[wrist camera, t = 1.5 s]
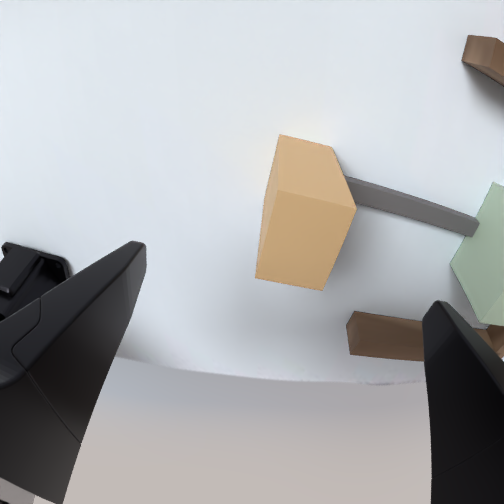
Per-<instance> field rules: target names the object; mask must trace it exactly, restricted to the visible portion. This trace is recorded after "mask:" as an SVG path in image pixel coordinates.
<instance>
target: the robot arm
mask: <svg viewBox="0 0 504 504" xmlns="http://www.w3.org/2000/svg"><path fill="white" fill-rule="evenodd" d="M1 248H2V251H3V255H4V258H3V259H2V261H1V262H0V504H33V501H34V498H35V495H37V496H39V497H41V498H43V499H46V500H48V501H51V502H53V503H55V504H63V501H64V497H65V494H66V491H67V487H68V484H69V480H70V477H71V474H72V471H73V468H74V465H75V462H76V458H77V455H78V452H79V449H80V446H81V444H80V443H82V440H83V437H84V434H85V432H86V429H87V426H88V423H89V421H90V418H91V415H92V412H93V409H94V407H95V404H96V401H97V399H98V396H99V394H100V391H101V389H102V386H103V384H104V381H105V379H106V376H107V374H108V371H109V369H110V366H111V364H112V361H113V359H114V357H115V354H116V352H117V349H118V347H119V345H120V342H121V340H122V338H123V335H124V333H125V331H126V328H127V326H128V324H129V321H130V319H131V316H132V313H133V310H134V307H135V304H136V301H137V297H138V294H139V291H140V288H141V285H142V282H143V279H144V276H145V273H146V267H147V263H146V245H145V244H144V243H141V242H137V241H130V242H128V243H127V244H125V245H123V246H122V247H120V248H118V249H116V250H115V251H113V252H111V253H110V254H108V255H106V256H105V257H103V258H101V259H100V260H98V261H96V262H95V263H93V264H91V265H90V266H88V267H86V268H85V269H83V270H82V271H80V272H78V273H77V274H75V275H74V276H72V277H70V278H69V274H68V269H67V265H66V262H65V260H64V259H62V258H61V257H58V256H54V255H51V254H47V253H43V252H40V251H36V250H32V249H29V248H25V247H22V246H18V245H15V244H11V243H8V242H5V243H4V244H3V245H2V247H1ZM422 333H423V350H424V367H425V376H426V384H427V394H428V404H429V417H430V433H431V462H432V480H431V504H504V362H503V360H502V359H501V358H500V357H499V356H498V355H497V354H496V353H495V352H494V350H493V349H492V348H491V347H490V346H489V345H488V344H487V343H486V342H485V341H484V340H483V339H482V337H481V336H480V335H479V334H478V333H477V332H476V331H475V330H474V329H473V328H472V327H471V326H470V325H469V324H468V323H467V322H466V321H465V320H464V319H463V318H462V317H461V316H460V315H459V314H458V313H457V312H456V311H455V310H454V309H453V308H452V307H451V306H450V305H449V304H448V303H447V302H445V301H439V300H438V301H435V302H434V303H433V304H432V306H431V307H430V309H429V310H428V312H427V313H426V314H425V316H424V317H423V320H422Z"/></svg>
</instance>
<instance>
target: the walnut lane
mask: <svg viewBox="0 0 504 504" xmlns="http://www.w3.org/2000/svg"><path fill="white" fill-rule="evenodd" d="M462 61H463V62H465V63H466V64H468V65H470V66H472V67H473V68H475V69H477V70H479V71H480V72H482V73H483V74H485V75H487V76H488V77H490V78H491V79H493V80H495V81H496V82H498V83H499V84H501V85H502V86H504V43H503V42H502V41H500V40H499V39H497V38H492V37H484V36H474V35H468V38H467V42H466V46H465V49H464V53H463V57H462ZM346 328H347V335H348V342H349V350H350V355H358V356H367V357H377V358H387V359H398V360H411V361H424V350H423V333H422V321H415V320H408V319H402V318H395V317H388V316H382V315H375V314H369V313H363V312H357V311H354V313H353V315H352V316H351V318H350V320H349V322H348V323H347V325H346ZM473 329H474V330H475V331H476V332H477V333H478V334H479V335H480V336H481V337H482V339H483V340H484V341H485V342H486V343H487V344H488V345H489V346H490V347H491V348H492V349H493V350H494V352H495V353H496V354H497V355H498V356H499V357H500V358H502V357H503V356H504V326H500V325H492V324H491V325H490V326H489V327H488V328H487V330H483V329H475V328H473Z"/></svg>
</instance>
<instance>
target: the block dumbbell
mask: <svg viewBox="0 0 504 504" xmlns="http://www.w3.org/2000/svg"><path fill="white" fill-rule="evenodd" d="M354 202H355V203H358V204H362V205H366V206H370V207H373V208H377V209H381V210H384V211H388V212H391V213H395V214H399V215H402V216H405V217H409V218H412V219H416V220H419V221H422V222H426V223H429V224H432V225H435V226H439V227H442V228H445V229H448V230H451V231H454V232H457V233H460V234H463V235H466V237H465V238H464V240H463V242H462V244H461V246H460V247H459V249H458V251H457V252H456V254H455V256H454V258H453V259H452V261H451V263H450V265H451V267H452V269H453V271H454V273H455V275H456V276H457V278H458V280H459V282H460V284H461V286H462V288H463V290H464V292H465V294H466V296H467V298H468V300H469V302H470V304H471V306H472V308H473V310H474V312H475V314H476V316H477V319H478V321H479V323H485V324H492V325H500V326H504V187H503V186H501V185H499V184H497V183H495V182H493V183H492V186H491V188H490V190H489V192H488V194H487V196H486V198H485V200H484V202H483V204H482V206H481V208H480V210H479V212H478V214H477V216H476V218H474V217H472V216H469V215H466V214H464V213H461V212H458V211H455V210H453V209H450V208H447V207H444V206H441V205H438V204H436V203H433V202H430V201H427V200H424V199H421V198H418V197H415V196H411V195H408V194H405V193H402V192H399V191H396V190H392V189H389V188H386V187H382V186H379V185H376V184H372V183H369V182H365V181H362V180H358V179H355V178H351V177H347V176H344V175H343V173H342V170H341V168H340V165H339V163H338V161H337V158H336V156H335V154H334V151H333V149H332V147H329V146H325V145H322V144H318V143H314V142H310V141H306V140H302V139H297V138H293V137H289V136H285V135H279V139H278V143H277V147H276V151H275V156H274V160H273V164H272V168H271V173H270V177H269V181H268V185H267V190H266V194H265V198H264V205H263V214H262V223H261V231H260V240H259V248H258V257H257V265H256V274H255V278H258V279H263V280H268V281H273V282H278V283H283V284H288V285H294V286H299V287H304V288H310V289H315V290H320V291H322V290H323V288H324V286H325V284H326V281H327V279H328V277H329V275H330V272H331V270H332V268H333V266H334V263H335V261H336V259H337V256H338V254H339V252H340V249H341V247H342V244H343V242H344V240H345V237H346V235H347V232H348V230H349V227H350V225H351V223H352V220H353V218H354V215H355V212H356V210H357V208H356V205H355V203H354Z"/></svg>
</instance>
